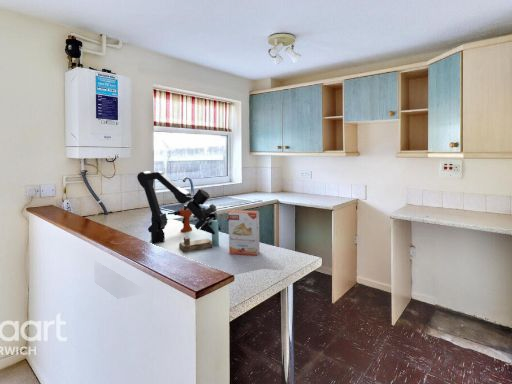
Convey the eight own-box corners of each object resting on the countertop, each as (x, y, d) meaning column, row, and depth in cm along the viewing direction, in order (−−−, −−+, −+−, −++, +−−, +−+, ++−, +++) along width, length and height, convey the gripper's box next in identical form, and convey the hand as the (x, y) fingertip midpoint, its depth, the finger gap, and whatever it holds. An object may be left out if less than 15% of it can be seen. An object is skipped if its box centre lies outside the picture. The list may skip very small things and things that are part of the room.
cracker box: (228, 254, 156) (227, 211, 153) (232, 250, 162) (231, 209, 159) (257, 256, 153) (256, 212, 150) (259, 252, 159) (259, 210, 156)
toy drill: (164, 233, 190) (165, 208, 190) (188, 230, 206) (189, 207, 205) (169, 234, 187) (170, 209, 187) (193, 231, 203) (194, 207, 202)
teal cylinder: (213, 246, 170) (212, 222, 168) (211, 244, 173) (210, 220, 171) (219, 245, 171) (219, 221, 169) (217, 243, 174) (216, 219, 172)
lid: (183, 247, 160) (183, 240, 160) (180, 243, 167) (179, 236, 166) (212, 242, 167) (212, 236, 167) (208, 239, 174) (208, 232, 173)
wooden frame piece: (183, 252, 160) (183, 247, 160) (179, 247, 168) (179, 243, 168) (212, 247, 167) (212, 243, 166) (207, 243, 174) (206, 239, 174)
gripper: (199, 203, 160) (221, 226, 159) (213, 197, 178) (232, 217, 177) (185, 218, 163) (207, 240, 162) (200, 211, 181) (219, 231, 180)
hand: (217, 231), depth 171 cm, fingers open, 8 cm apart
